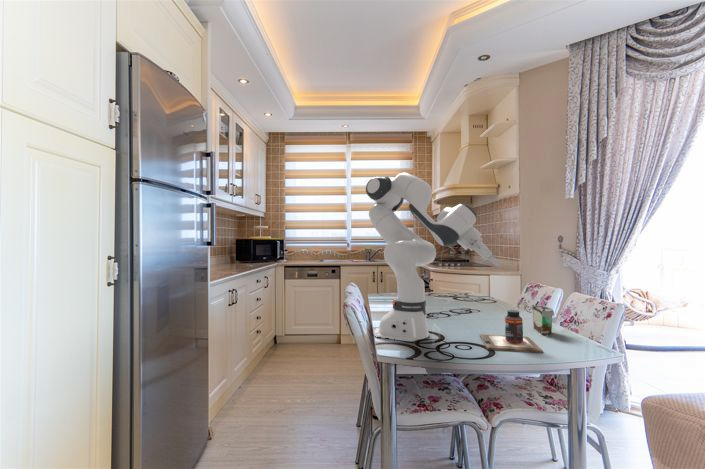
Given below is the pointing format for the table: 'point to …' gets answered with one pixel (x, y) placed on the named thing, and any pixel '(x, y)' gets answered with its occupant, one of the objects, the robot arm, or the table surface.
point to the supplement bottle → (513, 327)
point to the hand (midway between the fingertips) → (497, 264)
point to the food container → (542, 319)
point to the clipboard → (509, 344)
